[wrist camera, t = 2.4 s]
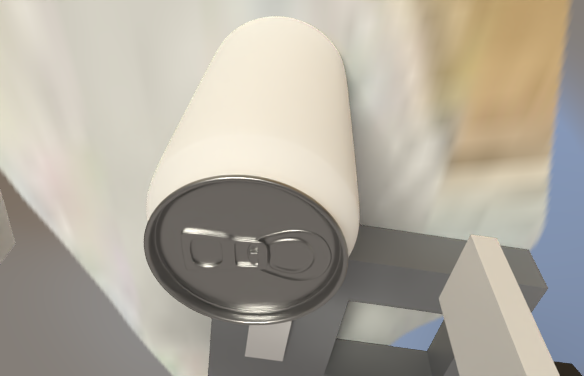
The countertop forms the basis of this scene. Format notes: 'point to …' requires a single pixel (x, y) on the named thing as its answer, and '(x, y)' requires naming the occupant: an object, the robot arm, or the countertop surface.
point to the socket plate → (367, 289)
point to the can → (259, 180)
